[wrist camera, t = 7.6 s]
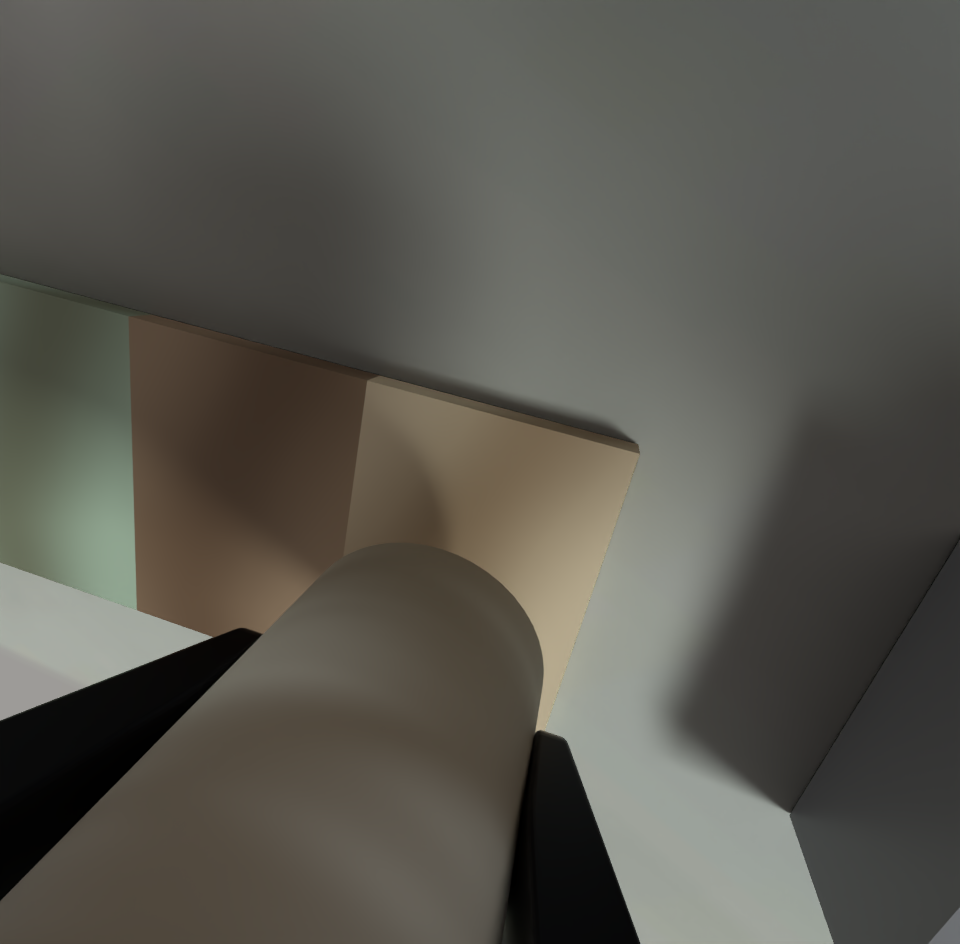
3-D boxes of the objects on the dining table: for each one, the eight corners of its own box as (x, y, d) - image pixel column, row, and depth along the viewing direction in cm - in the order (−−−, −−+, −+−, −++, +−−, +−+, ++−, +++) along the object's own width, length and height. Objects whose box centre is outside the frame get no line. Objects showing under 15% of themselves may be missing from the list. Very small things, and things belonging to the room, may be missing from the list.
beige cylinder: (575, 590, 8) (490, 1411, 2) (510, 787, 9) (356, 1580, 4) (315, 510, 8) (-312, 995, 3) (293, 709, 10) (-138, 1292, 4)
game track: (638, 444, 10) (640, 453, 9) (540, 729, 12) (537, 750, 12) (-50, 260, 12) (-82, 259, 11) (-11, 539, 14) (-36, 550, 14)
